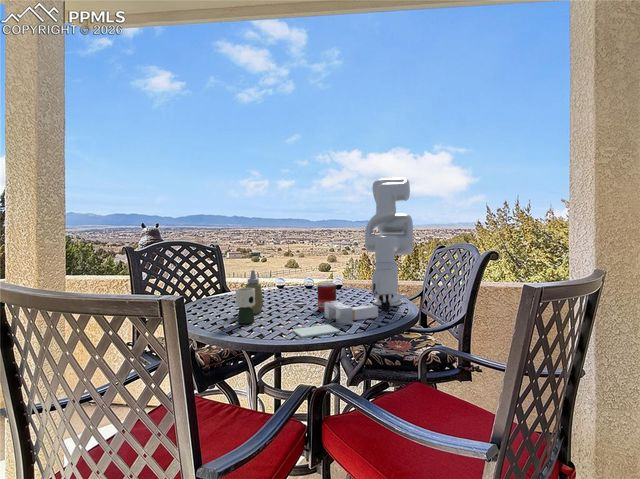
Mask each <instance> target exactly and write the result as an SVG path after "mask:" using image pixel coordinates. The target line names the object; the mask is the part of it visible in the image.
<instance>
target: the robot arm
mask: <svg viewBox="0 0 640 479" xmlns="http://www.w3.org/2000/svg"><path fill="white" fill-rule="evenodd" d="M410 187H411V186H410V181H409V179H408V178H407V177H392V178H391V177H390V178H389V177H388V178H379V179H376V180H374V181H373V183H372V187H371V190H372V194H373V199H374V202H375V205H376V206H375V214H374V215H373V216H372V217H371V218H370V219H369V221H368V222H367V224H366V226H365V230H364V232H365V233H364V234H365V235H364V247H365V249H366V251H367V252H368V253H374V254H375V259H374V260H375V261H374V262H375V269H373V272H372V278H371V294H373V296H372V297H373V299H374V298H375V299H374V300H373V305H375V306H380V307H381V308H380V309H381V312H384V313H390V308H391V307H395V306H400V305H402V302H403V301H402V299H407V298H408V294H407V293H402V294H401V293H399V280H398V279H399V276H398V275H399V273H398V272H399V269H398V267H399V266H398V264H397V261H396V260H395V256H409V255H411V254H413V252H414V246H415V242H414V224H413V223H414V222H413V218H412V216H411V215H410V214H409V213H408V214H407V213H397V206H396V202H407V201H409V198H410V195H411V190H410V189H411V188H410ZM376 227H377V229H378V232H379V234H372V233H373V232H374V230H375V228H376Z"/></svg>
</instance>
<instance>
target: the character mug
mask: <svg viewBox="0 0 640 479" xmlns="http://www.w3.org/2000/svg"><path fill="white" fill-rule="evenodd" d="M254 305H255V289H254V288H245V287H241V288H236V289H235V307H238V312H237V314H238V315H237V323H238V324H243V325H246V324H253V323H254V321H255V314H253V309H252V306H254Z"/></svg>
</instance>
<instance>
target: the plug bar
mask: <svg viewBox="0 0 640 479" xmlns="http://www.w3.org/2000/svg"><path fill="white" fill-rule="evenodd" d="M351 307H352V308H353V321H357V320H363V319H372V318H378V317H379V306H378V305H375V304H370V305H369V304H368V305H360V306H351Z"/></svg>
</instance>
